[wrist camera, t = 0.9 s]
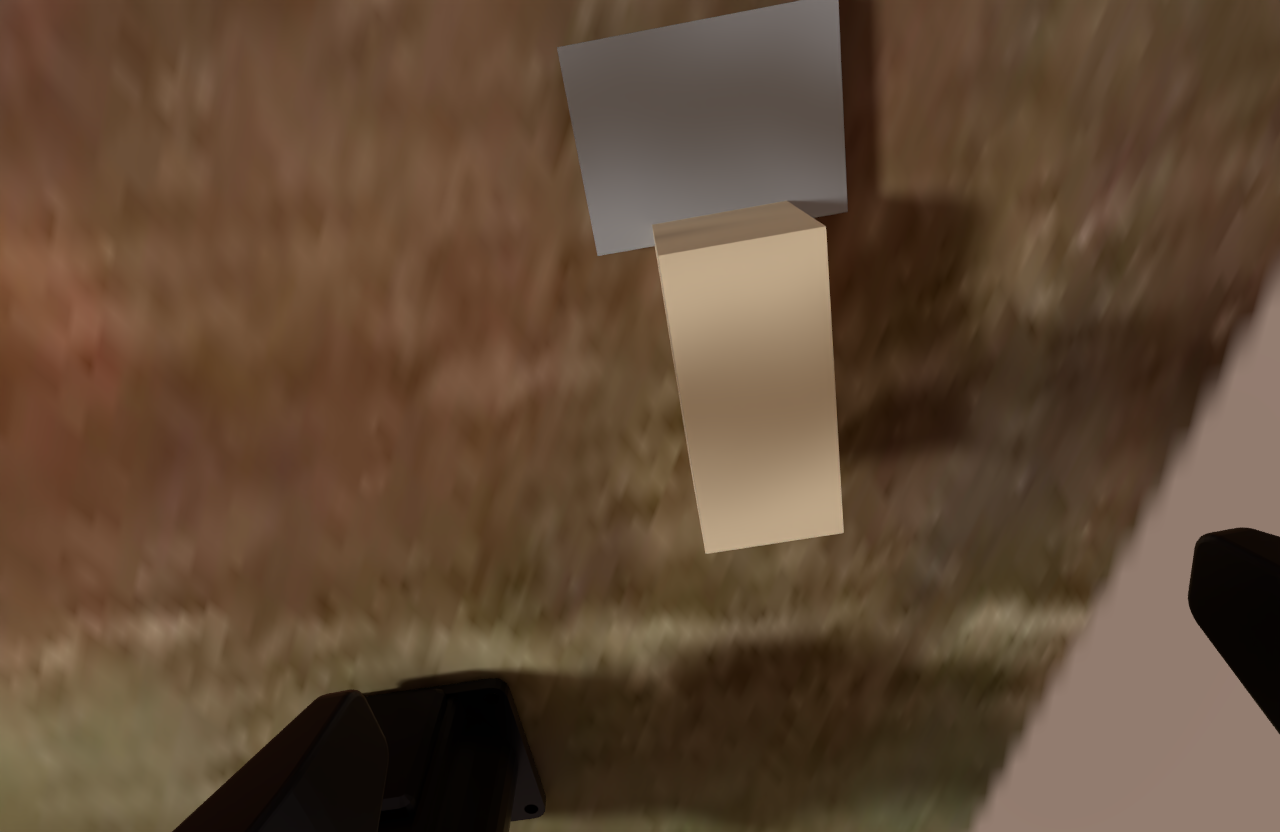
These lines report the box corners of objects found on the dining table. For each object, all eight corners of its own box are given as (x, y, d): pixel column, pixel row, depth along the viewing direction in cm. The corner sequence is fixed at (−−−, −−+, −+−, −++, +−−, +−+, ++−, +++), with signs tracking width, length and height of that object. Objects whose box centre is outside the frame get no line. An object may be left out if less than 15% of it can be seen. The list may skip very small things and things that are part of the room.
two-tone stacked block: (847, 436, 20) (904, 523, 16) (642, 469, 20) (646, 562, 16) (825, -2, 16) (897, -35, 11) (560, 49, 16) (538, 34, 12)
